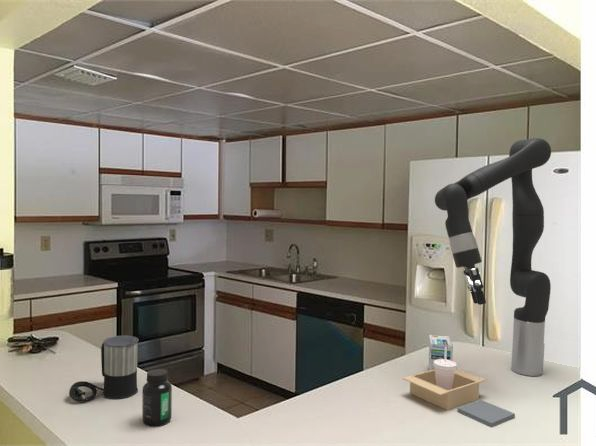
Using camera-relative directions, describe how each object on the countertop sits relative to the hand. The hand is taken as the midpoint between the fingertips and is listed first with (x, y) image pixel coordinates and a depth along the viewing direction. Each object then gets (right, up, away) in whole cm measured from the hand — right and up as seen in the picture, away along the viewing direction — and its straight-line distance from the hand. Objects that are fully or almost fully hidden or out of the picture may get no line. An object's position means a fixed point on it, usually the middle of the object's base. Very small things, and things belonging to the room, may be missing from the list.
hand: (479, 303), depth 143 cm
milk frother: (-106, -23, -10) cm, 109 cm away
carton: (-12, -25, -5) cm, 29 cm away
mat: (-5, -26, -16) cm, 31 cm away
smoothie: (-12, -25, -5) cm, 29 cm away
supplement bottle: (-88, -25, -24) cm, 94 cm away
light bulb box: (-8, -25, +13) cm, 29 cm away
